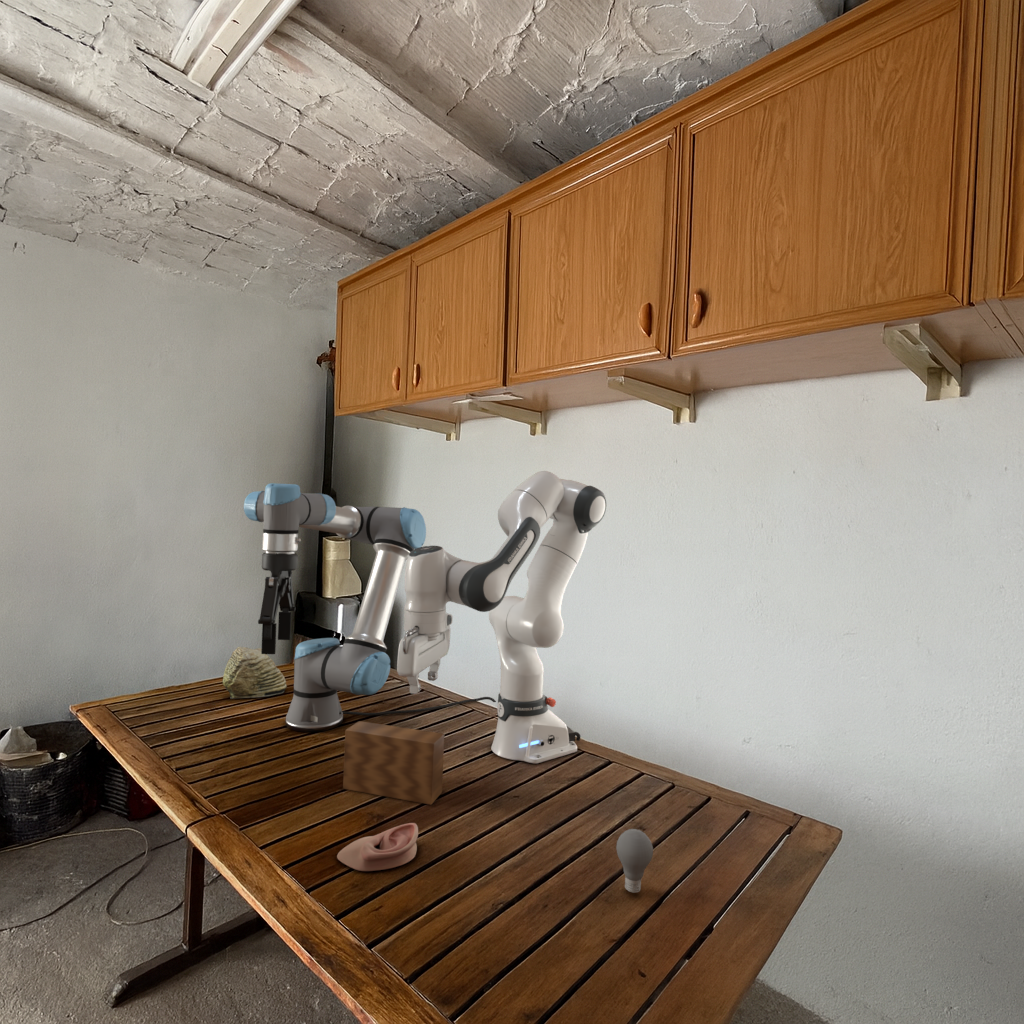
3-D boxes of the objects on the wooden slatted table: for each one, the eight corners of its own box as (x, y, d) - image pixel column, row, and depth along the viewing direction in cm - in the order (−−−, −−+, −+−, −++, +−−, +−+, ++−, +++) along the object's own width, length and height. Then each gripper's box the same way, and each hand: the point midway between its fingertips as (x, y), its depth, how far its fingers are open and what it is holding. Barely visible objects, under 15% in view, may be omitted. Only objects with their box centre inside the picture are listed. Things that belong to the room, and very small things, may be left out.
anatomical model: (329, 843, 109) (358, 811, 120) (328, 865, 109) (357, 832, 120) (402, 855, 106) (425, 821, 117) (401, 878, 106) (424, 842, 117)
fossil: (218, 695, 195) (220, 647, 195) (278, 685, 208) (279, 640, 207) (228, 703, 189) (230, 653, 188) (289, 692, 201) (290, 645, 201)
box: (342, 788, 138) (345, 730, 138) (357, 777, 144) (359, 720, 144) (431, 804, 132) (433, 743, 132) (442, 792, 138) (444, 733, 138)
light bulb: (610, 879, 108) (613, 822, 108) (644, 879, 109) (647, 822, 109) (619, 902, 102) (622, 840, 102) (655, 901, 103) (658, 840, 103)
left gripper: (283, 558, 130) (279, 660, 130) (308, 548, 155) (305, 634, 155) (245, 556, 129) (241, 660, 130) (277, 547, 154) (274, 634, 154)
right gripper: (418, 633, 125) (417, 703, 125) (455, 614, 144) (454, 674, 145) (389, 631, 126) (388, 699, 127) (429, 612, 146) (428, 672, 147)
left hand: (276, 646), depth 142 cm, fingers open, 13 cm apart
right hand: (424, 686), depth 136 cm, fingers open, 8 cm apart
